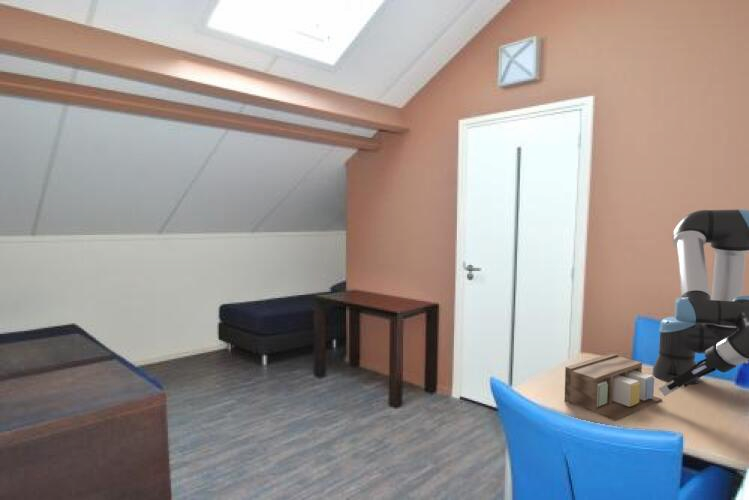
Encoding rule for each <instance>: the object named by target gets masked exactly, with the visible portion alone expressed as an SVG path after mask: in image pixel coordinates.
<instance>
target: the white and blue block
mask: <svg viewBox="0 0 749 500" xmlns="http://www.w3.org/2000/svg"><path fill="white" fill-rule="evenodd" d="M628 378H630V379H634V380H637V381H639V383H640V397H639V399H641V400H647V399H649V398H651V397H653V396H655V393H654V392H655V391H654V388H655V377H654V375H653V374H652V375H651V374H650V373H649V374H647V373H644V372H638V371H635V370H630V371H628Z"/></svg>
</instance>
